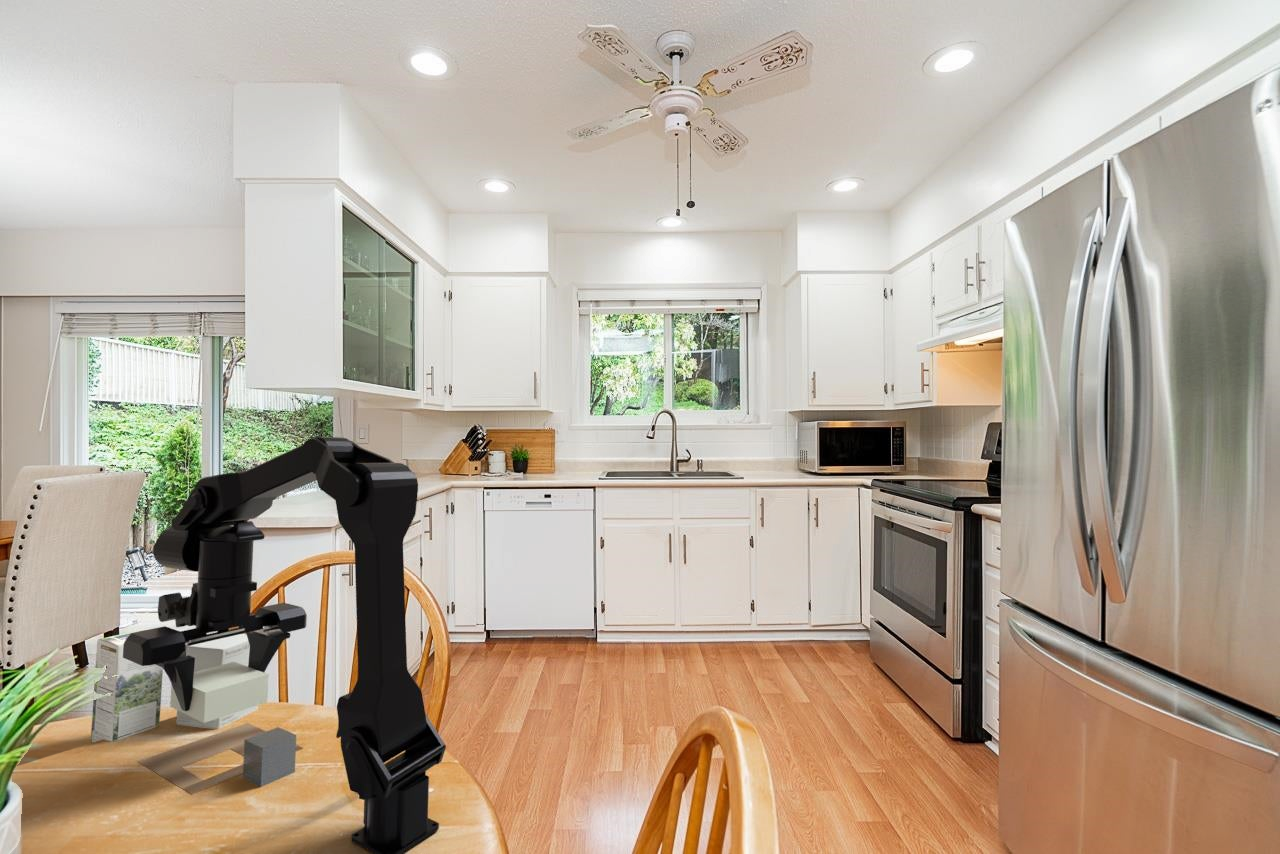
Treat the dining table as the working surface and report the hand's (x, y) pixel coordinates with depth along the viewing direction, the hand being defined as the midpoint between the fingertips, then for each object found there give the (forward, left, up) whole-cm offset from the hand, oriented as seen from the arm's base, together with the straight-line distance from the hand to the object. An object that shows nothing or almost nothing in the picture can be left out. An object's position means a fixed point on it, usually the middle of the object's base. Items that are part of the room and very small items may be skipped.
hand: (219, 699), depth 77 cm
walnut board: (+2, -2, -9) cm, 10 cm away
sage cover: (0, 0, -1) cm, 1 cm away
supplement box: (+15, -7, -10) cm, 19 cm away
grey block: (-8, -2, -9) cm, 13 cm away
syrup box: (+21, +2, -10) cm, 23 cm away
